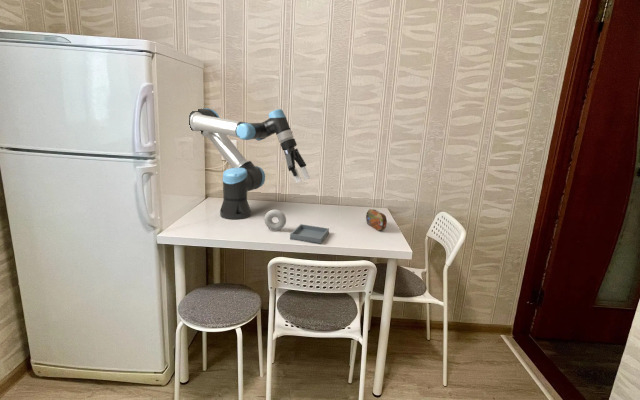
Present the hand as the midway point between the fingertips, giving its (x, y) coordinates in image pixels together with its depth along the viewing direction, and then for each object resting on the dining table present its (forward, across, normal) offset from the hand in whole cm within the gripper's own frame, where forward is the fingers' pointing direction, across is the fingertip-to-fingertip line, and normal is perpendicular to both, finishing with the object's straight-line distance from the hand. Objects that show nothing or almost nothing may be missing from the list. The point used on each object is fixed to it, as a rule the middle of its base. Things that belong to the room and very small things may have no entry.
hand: (303, 180), depth 169 cm
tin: (+35, +4, -24) cm, 43 cm away
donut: (+16, -20, +15) cm, 30 cm away
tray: (+24, -20, 0) cm, 32 cm away
